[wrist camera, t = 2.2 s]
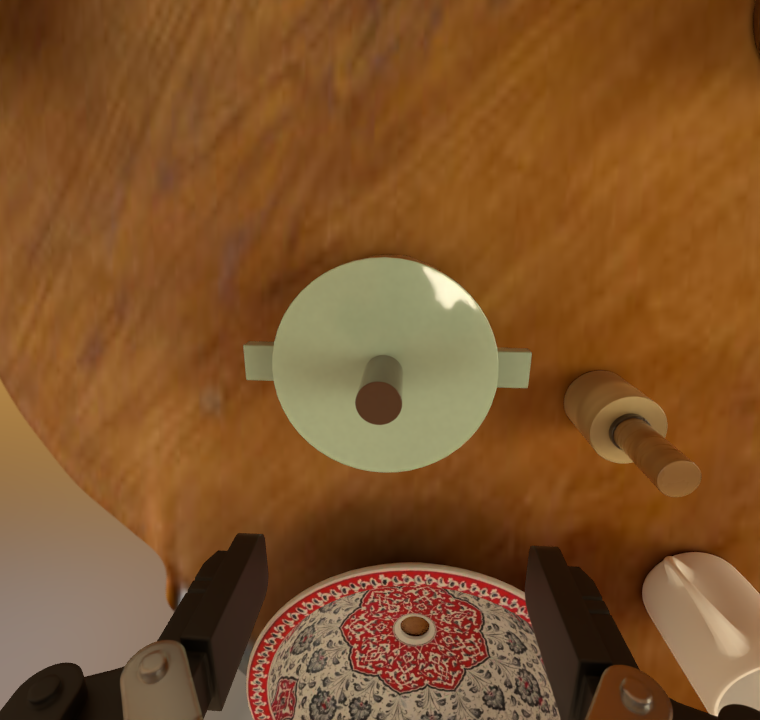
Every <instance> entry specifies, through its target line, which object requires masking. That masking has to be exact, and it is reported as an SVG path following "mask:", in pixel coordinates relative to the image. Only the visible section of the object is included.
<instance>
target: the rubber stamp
mask: <svg viewBox="0 0 760 720" xmlns="http://www.w3.org/2000/svg"><path fill="white" fill-rule="evenodd" d="M564 409H565V412H566V415H567V416H568V418H569V419H570V420H571V422H572V423H573V424H574V425H575V426H576V428H577V429H578V430H579V431H580V433H581V434H582V435H583V436H584V437H585V439H586V440H587V441H588V442H589V444H590V445H591V446H592V447H593V449H594V450H595V451H596V452H597V453H598V454H599V455H600V456H601V457H603V458H604V459H606V460H609V461H611V462H615V463H632V462H634V463H635V464H636V466H637V467H638V468H639V469H640V470H641V471H642V472H643V473H644V474H645V475H646V476H647V477H648V478H649V479H650V481H651V482H652V483H653V484H654V485H655V486H656V487H657V488H658V489H659V490H660V491H661V492H662V493H663V494H665V495H667V496H671V497H681V496H685V495H688V494H690V493H691V492H693V491H694V490H695V489H696V488H697V487H698V485H699V484H700V481H701V471H700V469H699V467H698V466H697V465H696V464H695V463H693V462H692V461H691V460H690V459H689V458H688V457H686V456H685V455H684V454H683V453H682V452H680V451H679V450H678V449H677V448H676V447H675V446H673V445H672V444H671V443H670V442H669V441H667V440H666V439H665V436H666V433H667V418H666V415H665V413H664V411H663V410H662V408H661V407H660V406H659V405H658V404H657V403H655V402H654V401H653V400H651V399H650V398H648V397H647V396H646V395H644V394H643V393H642V392H640V391H639V390H638V389H636V388H635V387H633V386H632V385H631V384H629V383H628V382H627V381H625V380H624V379H623V378H621V377H620V376H618V375H617V374H615V373H613V372H609V371H603V370H598V371H592V372H588V373H586V374H583V375H582V376H580V377H578V378H577V379H576V380H575V381H573V383H572V384H571V385H570V386H569V388H568V389H567V391H566V394H565V397H564Z"/></svg>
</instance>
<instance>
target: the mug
mask: <svg viewBox="0 0 760 720" xmlns="http://www.w3.org/2000/svg"><path fill="white" fill-rule="evenodd" d="M642 598H643V602H644V605H645V608H646V610H647V612H648V614H649V616H650V617H651V619H652V621H653V622H654V624H655V626H656V627H657V629H658V630H659V632H660V634H661V635H662V637H663V639H664V640H665V642H666V644H667V645H668V647H669V648H670V650H671V652H672V653H673V655H674V657H675V658H676V660H677V662H678V663H679V665H680V667H681V668H682V670H683V671H684V673H685V675H686V676H687V678H688V680H689V681H690V683H691V685H692V686H693V688H694V689H695V691H696V693H697V694H698V696H699V698H700V699H701V701H702V703H703V704H704V706H705V708H706V709H707V711H708V712H709V714H711V715H714V716H717V717H718V714H719V712H720V710H721V709H722V708H723V707H724V706H726V705H729V704H740V705H745V706H748V707H752V708H754V709H756V710H758V711H760V594H759V593H758V592H757V591H756V589H755V588H754V587H753V586H752V585H751V584H750V583H749V582H748V581H747V580H746V579H745V578H744V577H743V576H742V575H741V574H740V573H739V572H738V571H737V570H736V569H735V568H734V567H733V566H732V565H731V564H729V563H728V562H726V561H725V560H723V559H722V558H720V557H717V556H715V555H712V554H708V553H702V552H688V553H682V554H677V555H674V556H667V557H665V558H664V560H663V561H662V562H660V563H659V564H657V565H656V566H655V567H654V568H653V569H652V570H651V571H650V572H649V574H648V575H647V577H646V579H645V581H644V583H643V588H642Z"/></svg>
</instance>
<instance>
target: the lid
mask: <svg viewBox="0 0 760 720" xmlns="http://www.w3.org/2000/svg"><path fill="white" fill-rule="evenodd" d="M272 372H273V379H274V385H275V389H276V392H277V396H278V399H279V401H280V403H281V406H282V408H283V410H284V412H285V414H286V415H287V417H288V419H289V421H290V422H291V423H292V425H293V426H294V427H295V429H296V430H297V431H298V433H299V434H300V435H301V436H302V437H303V438H304V439H305V440H306V441H307V442H308V443H310V444H311V445H312V446H313V447H315V448H316V449H317V450H318V451H320V452H322V453H323V454H325V455H326V456H328V457H330V458H331V459H334V460H336V461H338V462H340V463H342V464H345V465H348V466H351V467H354V468H357V469H362V470H366V471H373V472H401V471H409V470H413V469H417V468H421V467H424V466H427V465H430V464H432V463H435V462H437V461H439V460H441V459H443V458H445V457H447V456H448V455H450V454H451V453H453V452H454V451H455V450H457V449H458V448H460V447H461V446H462V445H463V444H464V443H465V442H466V441H467V440H468V439H470V437H471V436H472V435H473V434H474V433H475V432H476V430H477V429H478V428H479V426H480V425H481V423H482V422H483V420H484V419H485V417H486V415H487V413H488V411H489V409H490V407H491V405H492V402H493V399H494V396H495V393H496V388H497V382H498V376H499V359H498V350H497V345H496V341H495V338H494V334H493V331H492V329H491V327H490V324H489V322H488V320H487V318H486V316H485V314H484V313H483V311H482V309H481V308H480V306H479V305H478V304H477V303H476V301H475V300H474V299H473V298H472V296H471V295H470V294H469V293H468V292H467V291H466V290H465V289H464V288H463V287H462V286H461V285H460V284H459V283H457V282H456V281H455V280H453V279H452V278H450V277H449V276H448V275H446V274H445V273H443V272H441V271H439V270H437V269H435V268H433V267H431V266H428V265H426V264H423V263H420V262H417V261H413V260H409V259H404V258H397V257H369V258H364V259H359V260H354V261H351V262H348V263H345V264H342V265H339V266H337V267H335V268H333V269H331V270H329V271H327V272H325V273H324V274H322V275H321V276H319V277H318V278H316V279H315V280H313V281H312V282H311V283H310V284H309V285H308V286H306V287H305V288H304V289H303V290H302V291H301V292H300V293H299V294H298V296H297V297H296V298H295V299H294V300H293V302H292V303H291V304H290V306H289V308H288V309H287V311H286V312H285V314H284V316H283V318H282V320H281V323H280V325H279V327H278V330H277V333H276V337H275V341H274V346H273V354H272Z"/></svg>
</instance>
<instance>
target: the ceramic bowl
mask: <svg viewBox="0 0 760 720" xmlns="http://www.w3.org/2000/svg"><path fill="white" fill-rule="evenodd" d="M410 616H418V617H422V618H424V619H425V620H426V621H428V623H429V630H428V631H427V633H425V634H424V635H422V636H409V635H407V634H405V633H404V632H403V631H402V629H401V622H402V621H403V620H404V619H405V618H407V617H410ZM246 691H247V699H248V705H249V709H250V712H251V715H252V718H253V720H561V718H560V715H559V712H558V708H557V705H556V702H555V699H554V696H553V692H552V689H551V686H550V683H549V679H548V676H547V673H546V670H545V666H544V663H543V660H542V657H541V653H540V650H539V647H538V644H537V640H536V637H535V634H534V631H533V627H532V624H531V621H530V618H529V615H528V611H527V607H526V601H525V593H524V592H523V591H521V590H519V589H517V588H515V587H514V586H511V585H509V584H507V583H505V582H502V581H500V580H498V579H496V578H493V577H490V576H487V575H484V574H481V573H478V572H474V571H470V570H466V569H462V568H457V567H452V566H446V565H439V564H433V563H423V562H400V563H390V564H382V565H376V566H369V567H364V568H360V569H355V570H351V571H348V572H345V573H342V574H339V575H336V576H333V577H330V578H328V579H326V580H323V581H321V582H319V583H317V584H315V585H313V586H311V587H309V588H308V589H306V590H304V591H302V592H301V593H300V594H298V595H297V596H295V597H294V598H292V599H291V600H290V601H289V602H287V603H286V604H285V605H284V606H283V607H282V608H281V609H279V610H278V612H277V613H276V614H275V615H274V616H273V617H272V618H271V619H270V620H269V622H268V623H267V625H266V626H265V628H264V629H263V630H262V632H261V633H260V635H259V637H258V639H257V641H256V643H255V644H254V647H253V650H252V652H251V655H250V659H249V663H248V668H247V679H246Z"/></svg>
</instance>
